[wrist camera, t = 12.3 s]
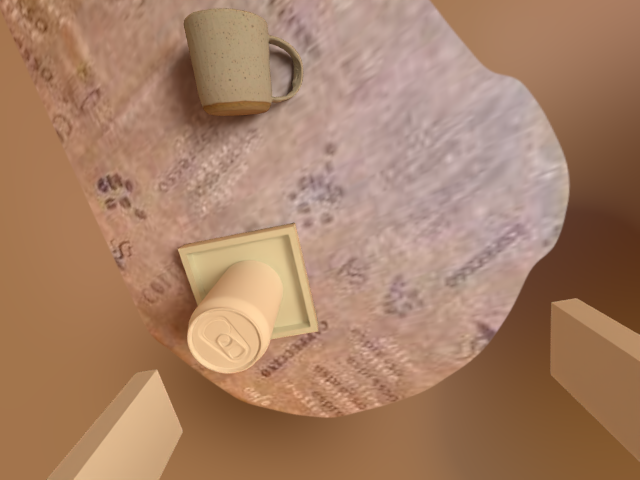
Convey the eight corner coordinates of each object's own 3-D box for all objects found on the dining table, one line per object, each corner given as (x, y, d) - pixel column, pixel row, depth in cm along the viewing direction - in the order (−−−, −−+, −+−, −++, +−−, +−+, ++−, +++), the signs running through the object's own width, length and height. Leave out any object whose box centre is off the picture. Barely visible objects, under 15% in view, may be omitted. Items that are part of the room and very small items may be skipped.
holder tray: (184, 244, 39) (177, 249, 37) (295, 222, 38) (293, 226, 36) (217, 340, 43) (212, 349, 41) (318, 323, 42) (318, 331, 40)
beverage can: (254, 245, 38) (225, 287, 27) (296, 291, 40) (285, 347, 29) (209, 282, 40) (163, 336, 28) (251, 324, 42) (224, 391, 30)
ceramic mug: (215, 120, 35) (188, 112, 28) (201, 39, 33) (167, 6, 25) (306, 112, 35) (304, 102, 27) (299, 30, 32) (294, -6, 25)
